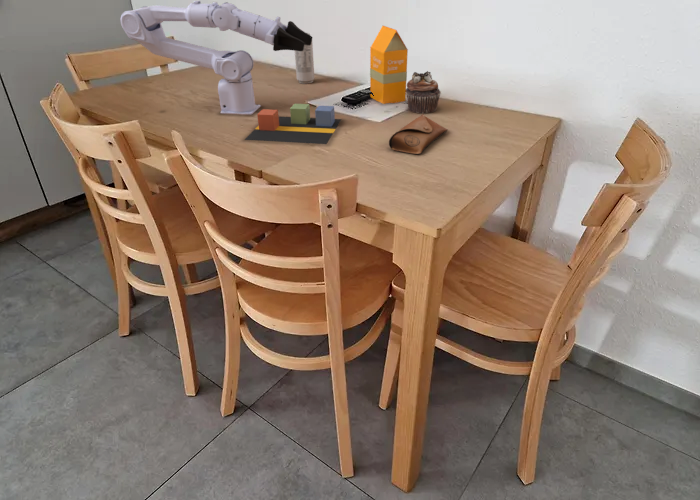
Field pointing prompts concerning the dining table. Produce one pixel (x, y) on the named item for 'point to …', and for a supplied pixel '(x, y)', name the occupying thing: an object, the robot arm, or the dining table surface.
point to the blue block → (325, 116)
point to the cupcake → (422, 93)
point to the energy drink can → (305, 64)
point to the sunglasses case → (416, 135)
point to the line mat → (296, 132)
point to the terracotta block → (268, 119)
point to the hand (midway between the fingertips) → (307, 43)
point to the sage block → (300, 113)
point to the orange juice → (388, 67)
